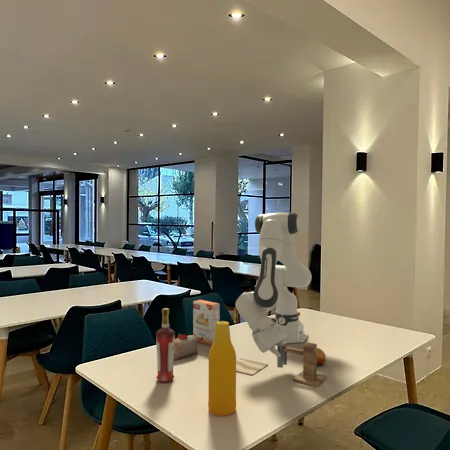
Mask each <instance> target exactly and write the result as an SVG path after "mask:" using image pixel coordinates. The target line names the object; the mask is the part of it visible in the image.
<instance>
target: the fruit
mask: <svg viewBox="0 0 450 450" xmlns="http://www.w3.org/2000/svg"><path fill="white" fill-rule="evenodd" d="M326 361H327V357H326V353H325V351H323V349H321V348H319V347H317V367H319V366H321V365H323V364H324V363H326Z"/></svg>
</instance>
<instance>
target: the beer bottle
mask: <svg viewBox="0 0 450 450" xmlns="http://www.w3.org/2000/svg"><path fill="white" fill-rule="evenodd" d="M210 347H211V348H210V349H209V352H208V396H207V397H208V398H207V399H208V400H207V401H208V403H207V405H208V411H209V412H210V414H212V415H214V416H217V417H218V416H220V417H227V416H231V415H232V414H234V413H235V411H237V410H236V409H237V372H236V360H237V354H236V349H235V347H234V346H233V343H232V339H231V331H230V322H228V321H224V320H221V321H219V322H216V330H215V339H214V343H213V345H212V346H210Z"/></svg>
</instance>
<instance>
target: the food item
mask: <svg viewBox="0 0 450 450" xmlns="http://www.w3.org/2000/svg"><path fill="white" fill-rule="evenodd" d="M198 346H199V345H198V342H197V338H196V337H195V336H193V334H189V335H186V334H181V333H179V334H178V335H177V338H176V337H175V342H174V360H179V359H182V358H186V357H189V356H193V355H197V354H199V351H198Z"/></svg>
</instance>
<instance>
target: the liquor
mask: <svg viewBox="0 0 450 450" xmlns="http://www.w3.org/2000/svg"><path fill="white" fill-rule="evenodd" d="M161 313H162V314H161V315H162V316H161V317H162V322H161V328H160V329H158V330H157V331H156V332H155V338H156V339H155V340H156V341H155V343H156V361H157V362H156V365H157V367H156V368H157V376H156V378H155V379H157V381H159V382H160V383H162V382H163V383H169V382H172V380H173V379H174V378H175V376H174V361H175V359H174V342H175V339H176V337H175V336H176V335H175V334H176V331H174V330H173V328H172V329H171V328H170V321H169V315H170V308H168V307H166V308H165V307H164V308H162V309H161ZM163 383H162V384H163Z"/></svg>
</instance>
